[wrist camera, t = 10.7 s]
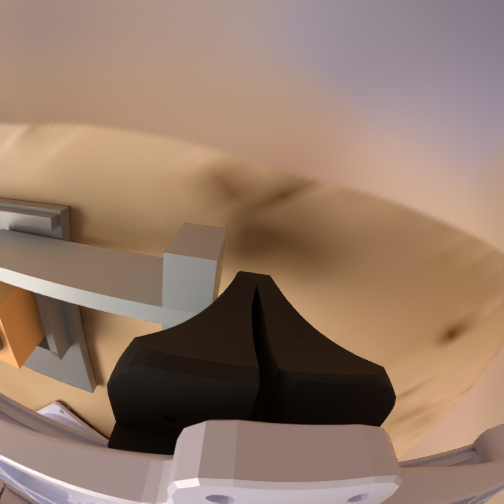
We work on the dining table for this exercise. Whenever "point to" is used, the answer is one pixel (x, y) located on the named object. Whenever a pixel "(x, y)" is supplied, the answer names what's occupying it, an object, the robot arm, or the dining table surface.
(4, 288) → the block
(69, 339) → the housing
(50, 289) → the cover bar
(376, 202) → the dining table surface
